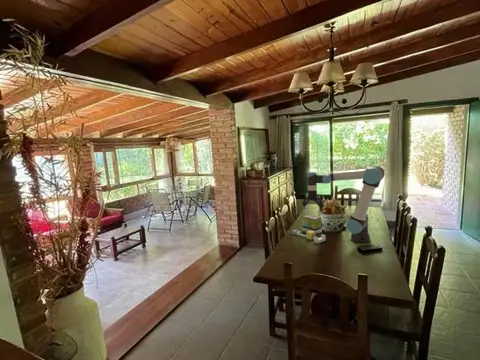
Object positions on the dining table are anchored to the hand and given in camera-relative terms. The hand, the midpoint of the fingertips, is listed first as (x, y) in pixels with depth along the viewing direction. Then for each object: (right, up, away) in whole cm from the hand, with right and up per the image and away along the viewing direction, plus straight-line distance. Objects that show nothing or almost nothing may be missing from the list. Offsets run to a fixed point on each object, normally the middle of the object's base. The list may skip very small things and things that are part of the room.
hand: (313, 214), depth 247 cm
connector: (-12, -20, +17) cm, 29 cm away
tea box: (+4, -19, +21) cm, 29 cm away
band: (-10, -21, +13) cm, 27 cm away
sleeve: (-2, -22, +2) cm, 22 cm away
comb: (+4, -22, -6) cm, 24 cm away
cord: (-4, -21, +5) cm, 22 cm away
